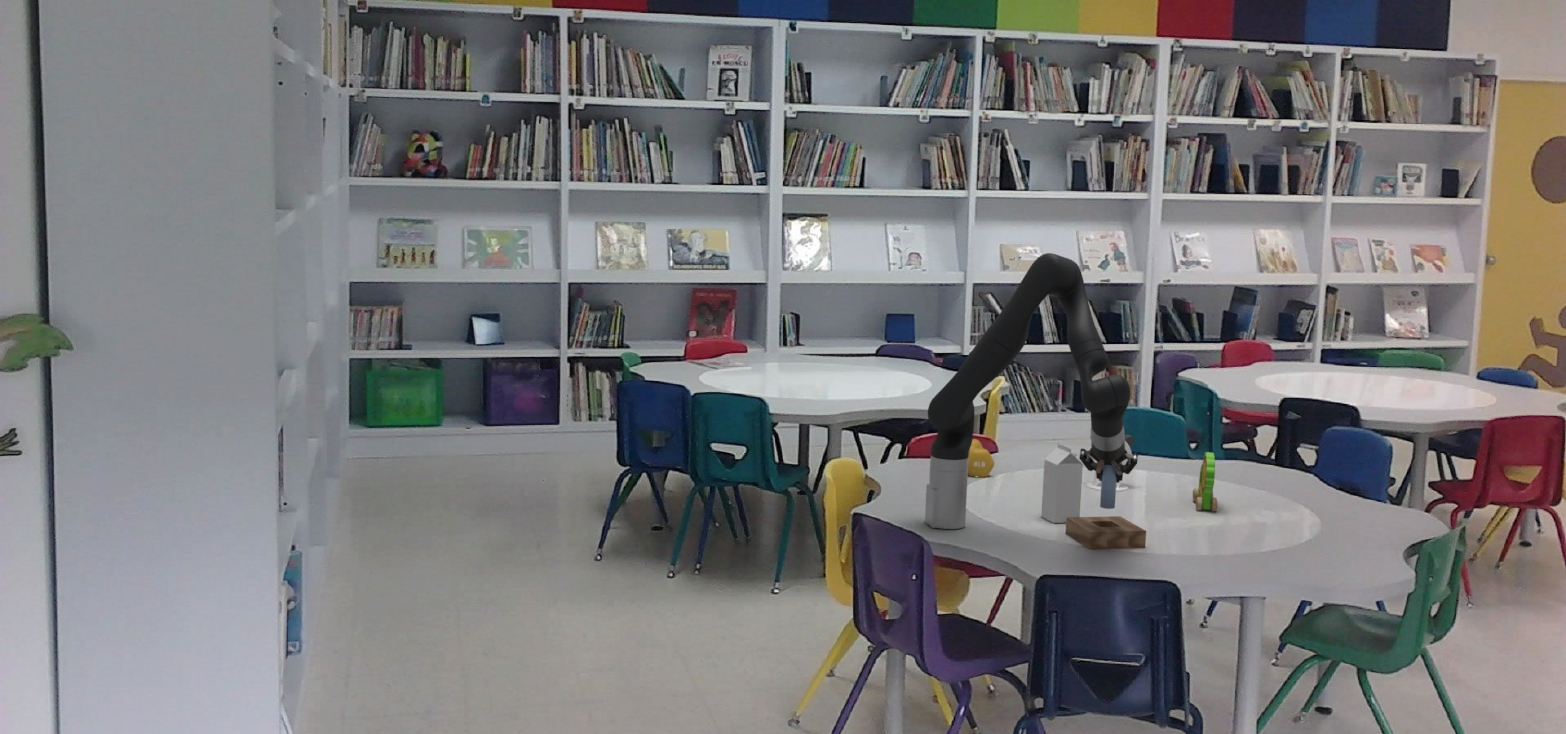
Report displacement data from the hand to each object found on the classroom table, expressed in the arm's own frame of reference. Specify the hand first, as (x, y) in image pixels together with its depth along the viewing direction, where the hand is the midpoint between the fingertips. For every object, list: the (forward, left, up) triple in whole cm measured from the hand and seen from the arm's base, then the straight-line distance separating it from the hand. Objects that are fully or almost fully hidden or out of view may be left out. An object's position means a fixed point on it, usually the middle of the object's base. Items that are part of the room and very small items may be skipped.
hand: (1109, 478), depth 328 cm
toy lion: (+41, +28, -15) cm, 52 cm away
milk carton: (-4, +18, -15) cm, 24 cm away
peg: (-1, -2, -6) cm, 7 cm away
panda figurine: (+25, +53, -15) cm, 61 cm away
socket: (-1, -2, -15) cm, 15 cm away
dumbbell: (-7, +76, -15) cm, 78 cm away
